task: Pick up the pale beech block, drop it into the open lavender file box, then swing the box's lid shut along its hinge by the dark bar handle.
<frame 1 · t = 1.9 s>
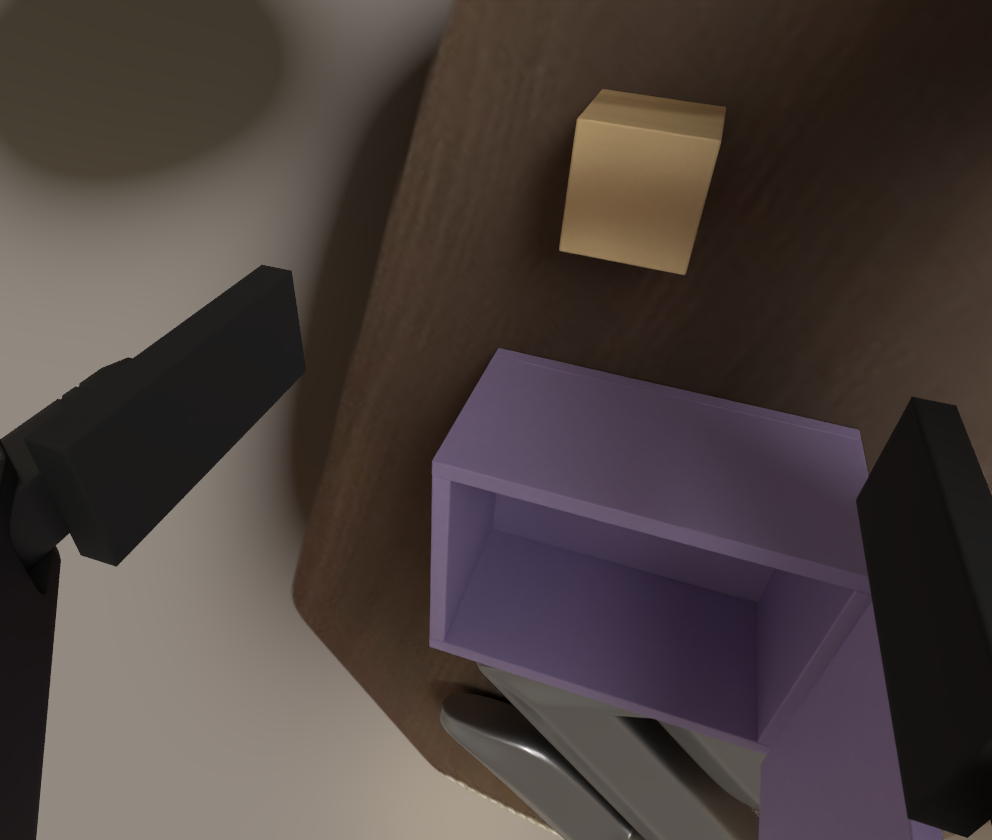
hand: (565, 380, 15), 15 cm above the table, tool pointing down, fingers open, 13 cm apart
file box: (641, 484, 35), on the table
beech block: (649, 161, 26), on the table
emblem: (645, 730, 49), on the table
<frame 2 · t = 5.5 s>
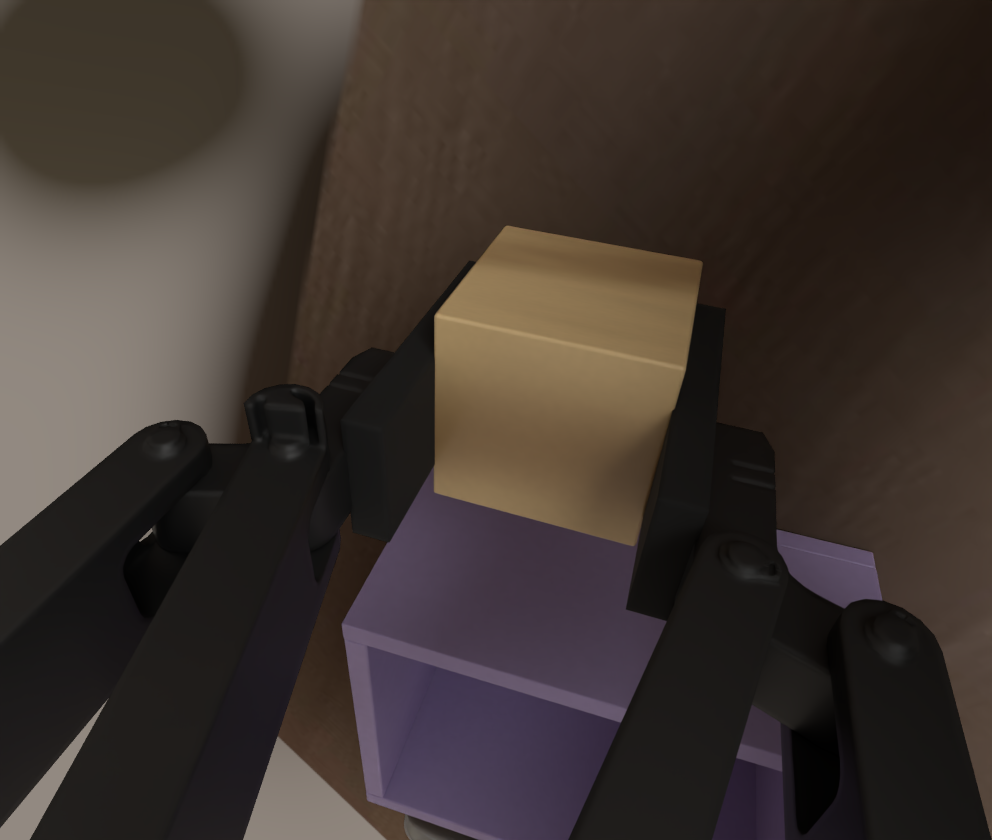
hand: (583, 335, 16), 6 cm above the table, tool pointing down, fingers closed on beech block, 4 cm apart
file box: (616, 598, 30), on the table
beech block: (587, 328, 16), point 5 cm above the table, touching gripper
emblem: (634, 839, 43), on the table
when the fingers open (8 cm above the table, at t = 10.3 s): beech block drops 7 cm, resting on file box.
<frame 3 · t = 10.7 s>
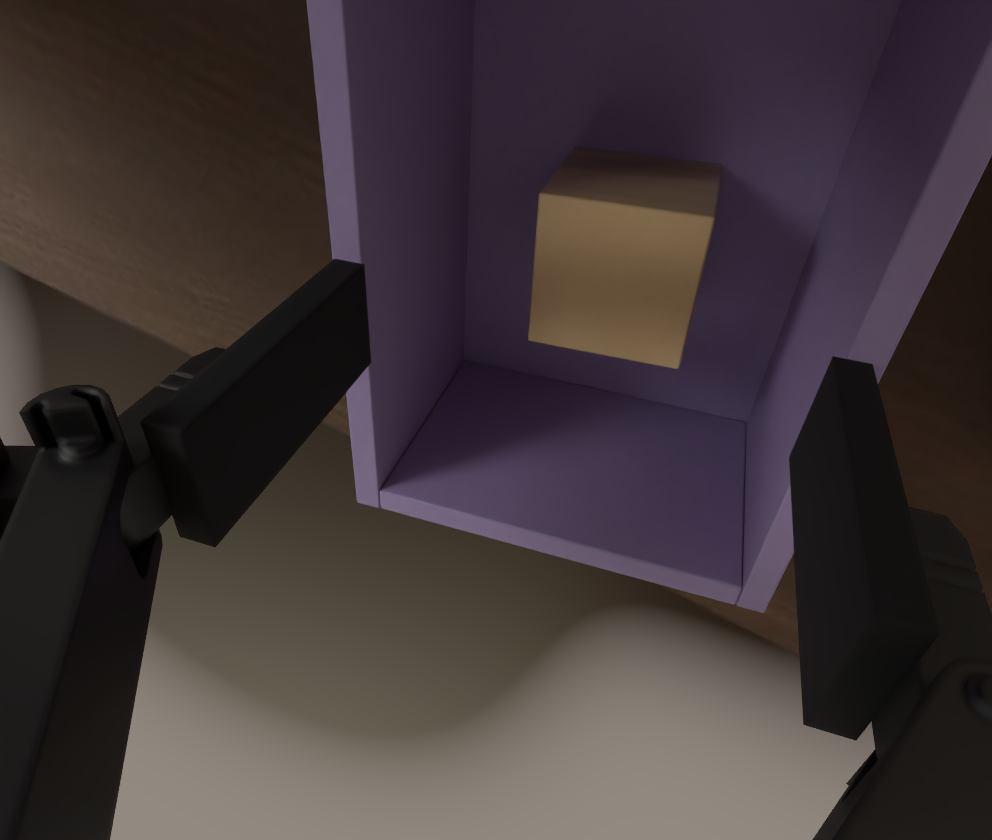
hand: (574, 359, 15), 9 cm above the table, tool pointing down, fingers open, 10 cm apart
file box: (639, 186, 22), on the table
beech block: (635, 226, 22), point 1 cm above the table, touching file box
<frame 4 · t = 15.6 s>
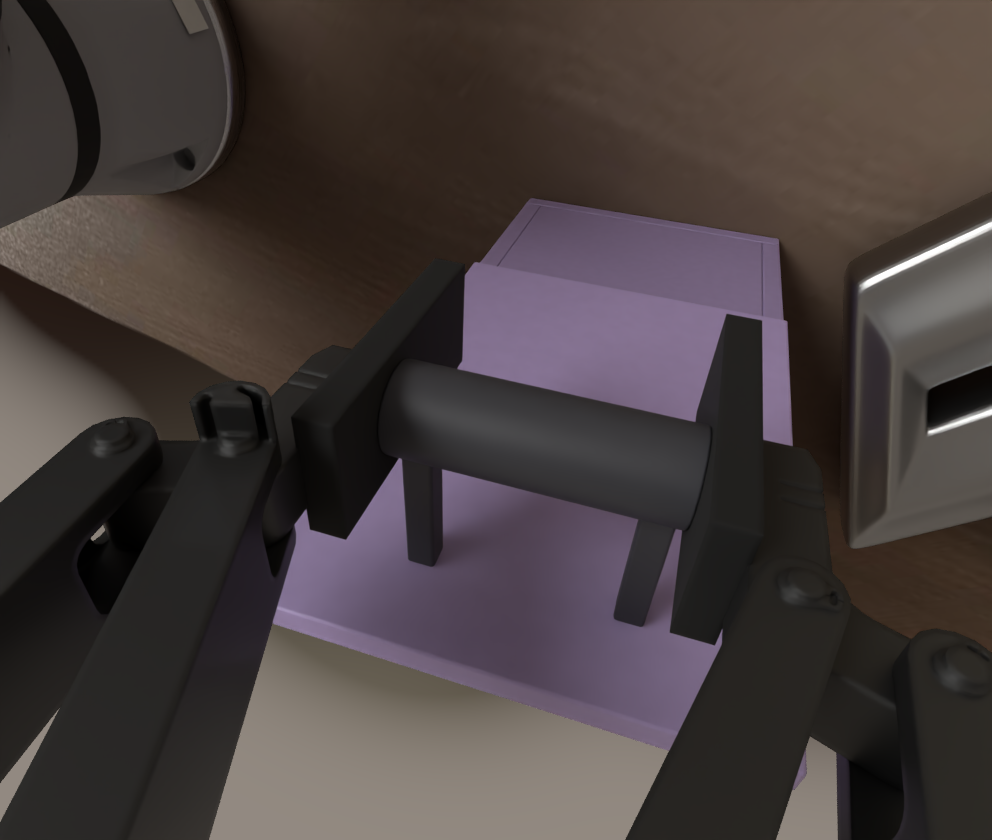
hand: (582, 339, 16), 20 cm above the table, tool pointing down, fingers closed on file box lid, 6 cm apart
file box: (622, 355, 39), on the table
file box lid: (589, 358, 19), point 18 cm above the table, hinge at 88.0°, touching gripper
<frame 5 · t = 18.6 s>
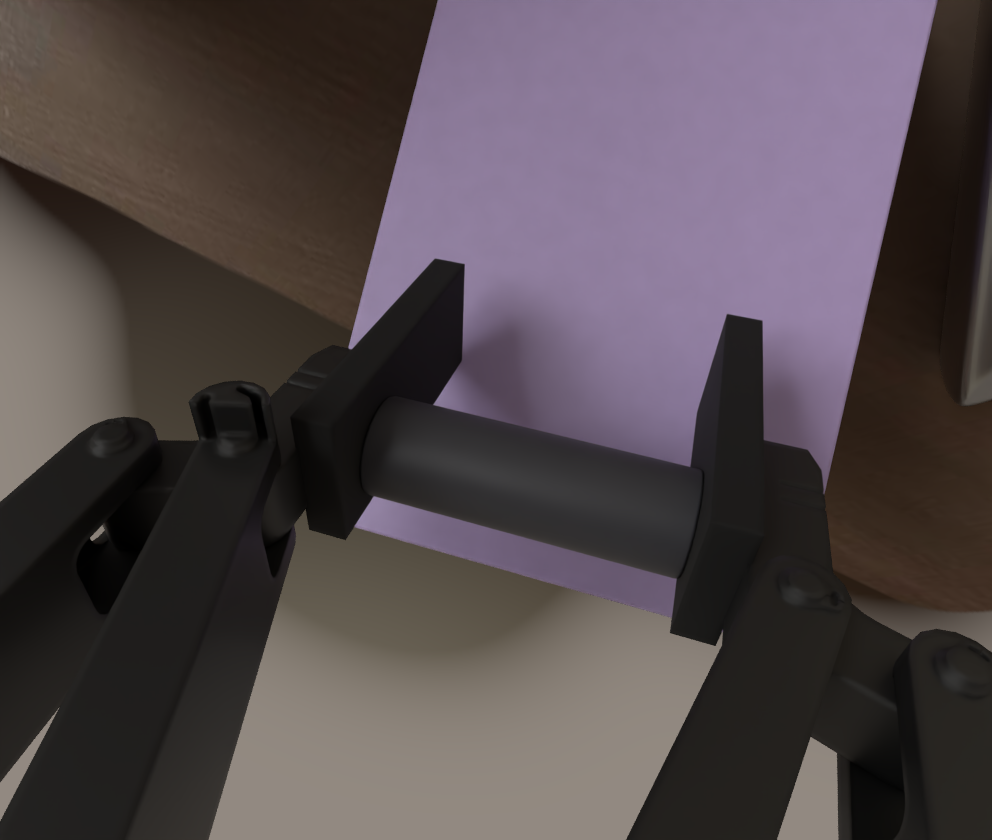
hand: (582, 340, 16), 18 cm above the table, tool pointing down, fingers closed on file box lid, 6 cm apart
file box lid: (608, 210, 15), point 17 cm above the table, hinge at 40.6°, touching gripper
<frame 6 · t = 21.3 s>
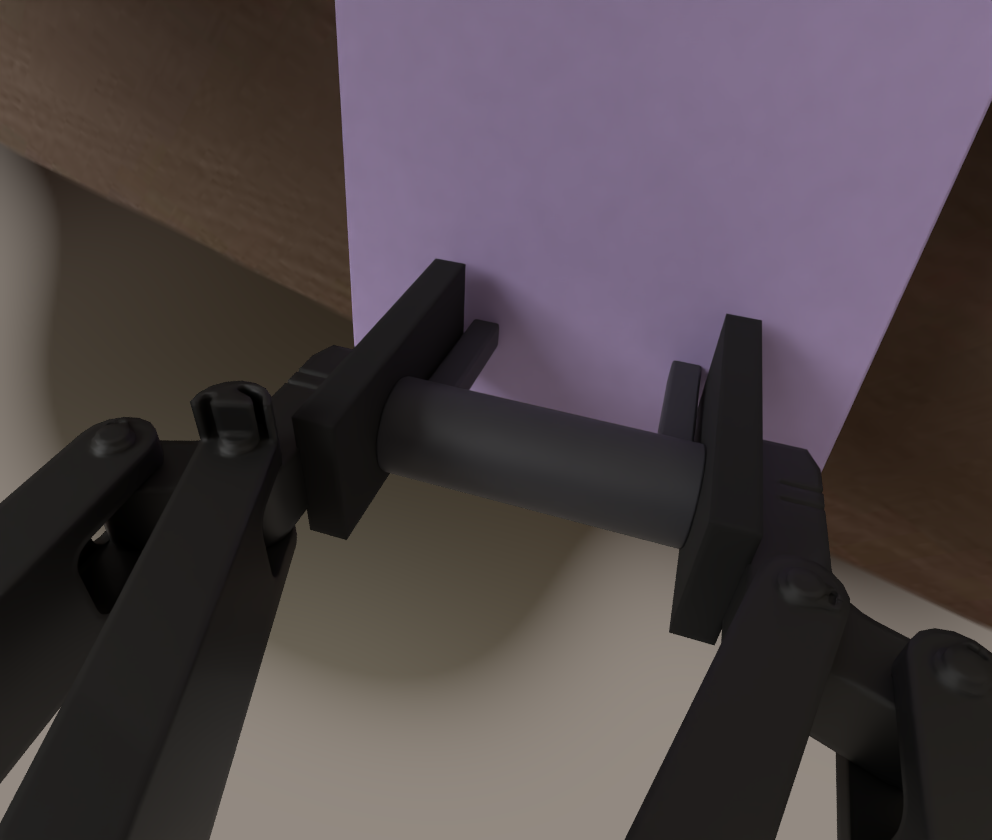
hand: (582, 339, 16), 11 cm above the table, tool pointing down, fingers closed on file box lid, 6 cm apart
file box lid: (609, 94, 11), point 12 cm above the table, hinge at 2.5°, touching gripper
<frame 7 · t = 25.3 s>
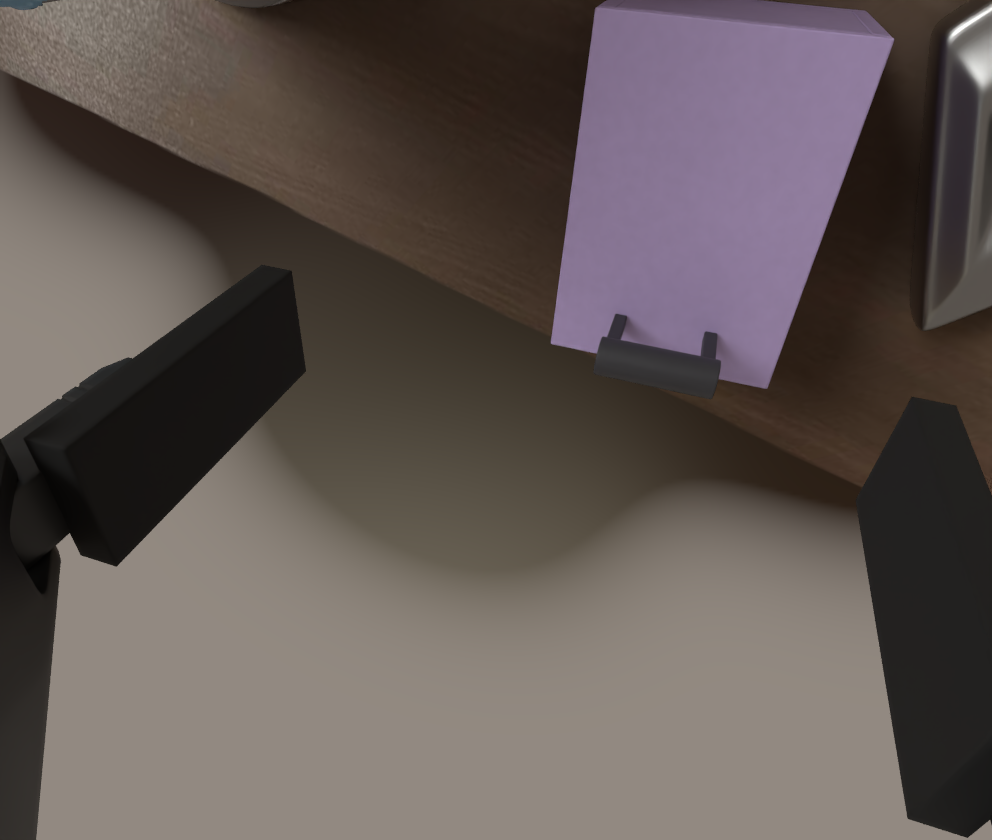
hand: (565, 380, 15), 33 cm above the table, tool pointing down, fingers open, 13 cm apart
file box: (704, 156, 42), on the table
file box lid: (687, 235, 32), point 12 cm above the table, hinge at 2.4°
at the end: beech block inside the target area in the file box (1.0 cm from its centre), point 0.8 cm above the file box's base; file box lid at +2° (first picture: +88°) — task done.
